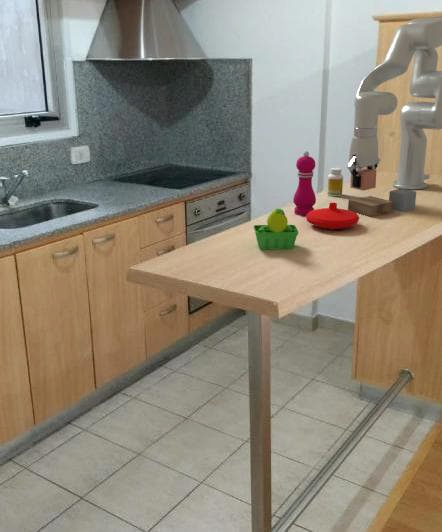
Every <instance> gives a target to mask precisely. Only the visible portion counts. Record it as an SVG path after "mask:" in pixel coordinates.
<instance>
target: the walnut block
mask: <svg viewBox="0 0 442 532" xmlns="http://www.w3.org/2000/svg"><path fill="white" fill-rule="evenodd" d="M347 202H348V203H347V204H348V205H347V210H349V211H353V212H355V213H356V214H357V213H358V214H357V215H360V214H361V216H364V215H365V216H364V217H367V216H368V217H367V218H374V216H375V217H378V216H383V215H388V213H389V214H392V213H393V212H394V210H393V202H392V201H389V199H384V198H379V197H376V196H373V195H372V196H371V195H370V196H369V195H368V196H362V197H358V198H352V199H349V200H348V201H347Z"/></svg>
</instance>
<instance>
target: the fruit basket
mask: <svg viewBox="0 0 442 532" xmlns="http://www.w3.org/2000/svg"><path fill="white" fill-rule="evenodd" d="M288 222H289V221H288V218H287V216H286V213H285V211H284V210H283V209H281V208H276V209H274V210H272V211H271V213H270V214H269V215H268V217H267V218H266V224H256V225H255V224H254V225H253V226H252V227H253V230H254V234H255V236H256V237H255V238H256V241H257V245H258V249H259V250H293V249H294V247H295V243H296V240H297V237H298V235H299V230H298V228H297V226H296V225H295V224H289V223H288Z"/></svg>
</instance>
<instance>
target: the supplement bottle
mask: <svg viewBox="0 0 442 532" xmlns="http://www.w3.org/2000/svg"><path fill="white" fill-rule="evenodd" d="M343 185H344V176H343V174H342V168H341V167H331V168H330V170H329V174H328V175H327V185H326V186H327V188H326V189H327V190H326V196H329V197H333V196H338V197H341V196H342V195H343Z"/></svg>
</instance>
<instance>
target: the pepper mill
mask: <svg viewBox="0 0 442 532" xmlns="http://www.w3.org/2000/svg"><path fill="white" fill-rule="evenodd" d="M295 164H296V169H297V170H298V171H297V177H298V186H297V189H296V191H295V193H294V194H293V199H292V201H293V204H294V205H295V207H294V214H295V215H297V216H301V217H302V216H305V217H306V215H307V214H308V213H309V212H310V211H312V210H315V208H314V206H315V204H316V203H317V202H316V201H317V197H316V193H315V190H314V188H313V185H312V184H313V183H312V182H313V177H314V170H315V168H316V160H315V159H314V158H313V157H312V156H310V153H309V151H304V152H303V156H301V157H299V158H298V159H297V160H296V163H295Z"/></svg>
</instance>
